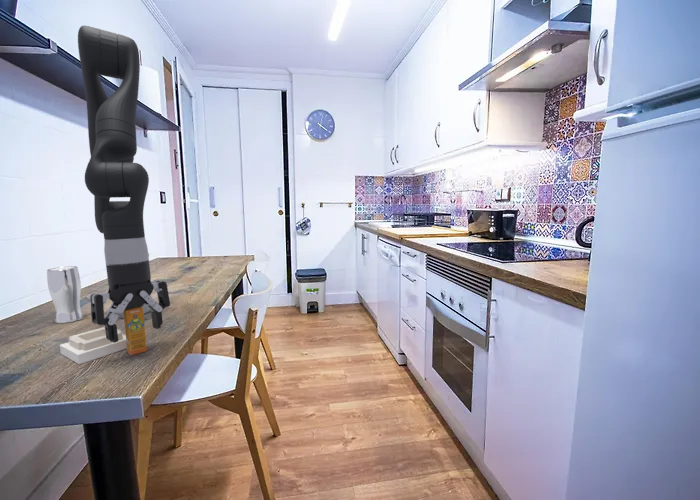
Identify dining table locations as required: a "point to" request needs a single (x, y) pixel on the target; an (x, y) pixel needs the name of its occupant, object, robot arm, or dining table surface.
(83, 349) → the display stand
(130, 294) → the robot arm
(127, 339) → the supplement box
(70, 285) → the beer glass
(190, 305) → the dining table surface
